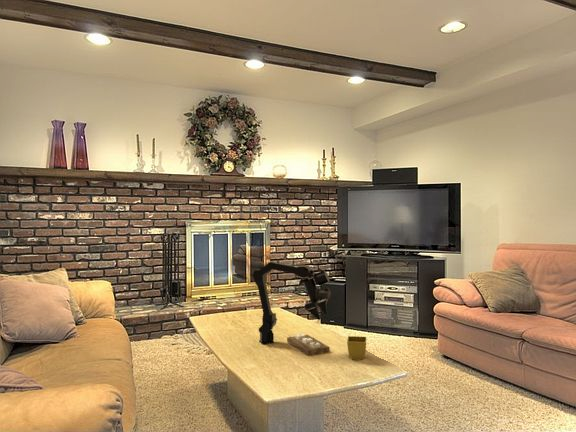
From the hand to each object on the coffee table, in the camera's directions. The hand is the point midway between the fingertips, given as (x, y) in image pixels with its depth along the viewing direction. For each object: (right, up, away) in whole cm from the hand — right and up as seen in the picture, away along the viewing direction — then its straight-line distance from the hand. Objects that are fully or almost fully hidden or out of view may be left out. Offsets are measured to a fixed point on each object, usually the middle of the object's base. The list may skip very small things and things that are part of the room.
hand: (323, 317), depth 216 cm
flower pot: (+14, -15, -20) cm, 29 cm away
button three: (-5, -13, -9) cm, 17 cm away
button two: (-8, -13, -1) cm, 16 cm away
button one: (-12, -14, +7) cm, 19 cm away
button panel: (-8, -15, -1) cm, 17 cm away
